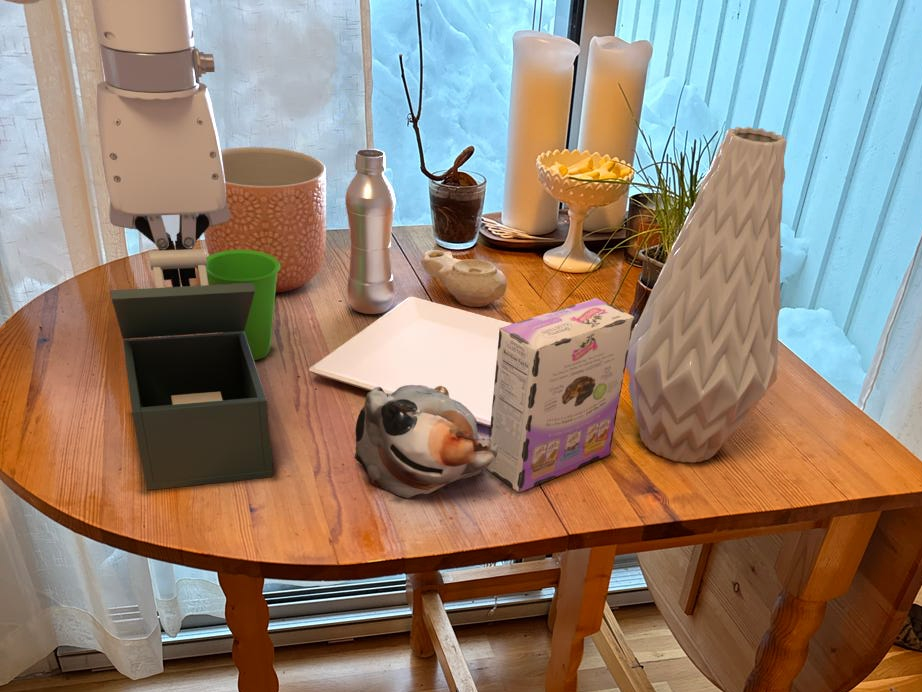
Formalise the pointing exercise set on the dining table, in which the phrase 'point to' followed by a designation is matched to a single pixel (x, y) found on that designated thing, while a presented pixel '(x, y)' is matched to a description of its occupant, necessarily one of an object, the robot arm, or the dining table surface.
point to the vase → (714, 307)
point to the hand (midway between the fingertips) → (180, 285)
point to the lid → (182, 302)
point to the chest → (198, 410)
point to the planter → (274, 210)
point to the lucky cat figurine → (418, 440)
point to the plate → (423, 354)
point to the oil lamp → (466, 277)
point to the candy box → (557, 391)
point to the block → (196, 398)
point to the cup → (263, 275)
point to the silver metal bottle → (370, 234)
